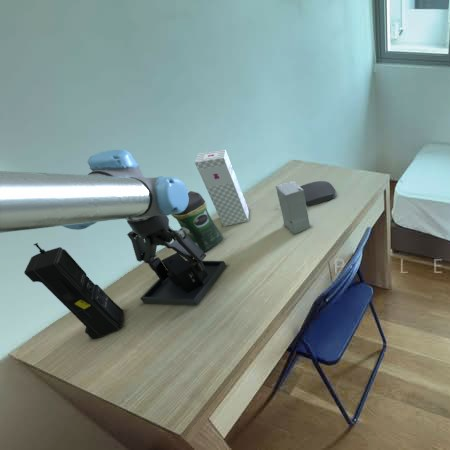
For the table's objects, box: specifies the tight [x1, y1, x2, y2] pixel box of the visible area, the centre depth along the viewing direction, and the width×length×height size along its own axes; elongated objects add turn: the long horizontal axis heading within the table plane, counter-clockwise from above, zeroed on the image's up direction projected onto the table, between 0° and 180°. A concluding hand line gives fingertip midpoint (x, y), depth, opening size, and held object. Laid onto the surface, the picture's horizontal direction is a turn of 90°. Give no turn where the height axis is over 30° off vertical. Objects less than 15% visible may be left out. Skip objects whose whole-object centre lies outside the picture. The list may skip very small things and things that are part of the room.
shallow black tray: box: [139, 259, 227, 306], centre depth 88 cm, size 15×15×2 cm
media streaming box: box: [299, 180, 337, 206], centre depth 128 cm, size 15×15×3 cm
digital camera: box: [160, 252, 203, 293], centre depth 86 cm, size 10×5×7 cm, turn 53°
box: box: [194, 148, 250, 227], centre depth 109 cm, size 8×8×25 cm
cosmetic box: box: [275, 180, 311, 235], centre depth 106 cm, size 8×7×16 cm
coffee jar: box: [170, 190, 223, 253], centre depth 98 cm, size 10×8×19 cm
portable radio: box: [24, 242, 124, 340], centre depth 70 cm, size 8×6×25 cm
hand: (184, 278), depth 88 cm, fingers closed on digital camera, 11 cm apart
